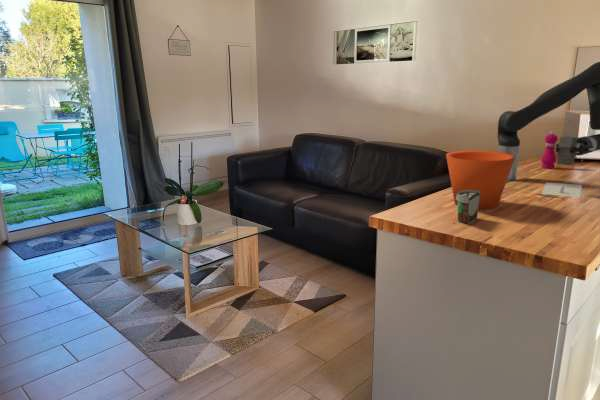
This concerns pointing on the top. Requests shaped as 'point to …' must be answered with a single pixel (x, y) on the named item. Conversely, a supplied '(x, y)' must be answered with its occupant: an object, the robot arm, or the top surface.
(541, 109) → the robot arm
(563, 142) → the charcoal link
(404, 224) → the top surface
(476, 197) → the food container
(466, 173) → the flowerpot
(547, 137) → the pepper mill
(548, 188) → the plate
